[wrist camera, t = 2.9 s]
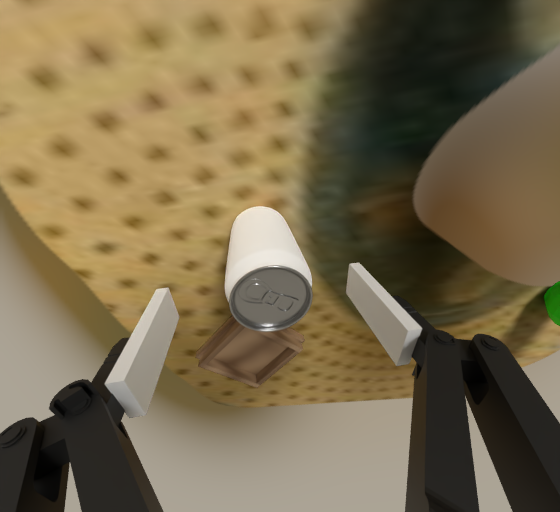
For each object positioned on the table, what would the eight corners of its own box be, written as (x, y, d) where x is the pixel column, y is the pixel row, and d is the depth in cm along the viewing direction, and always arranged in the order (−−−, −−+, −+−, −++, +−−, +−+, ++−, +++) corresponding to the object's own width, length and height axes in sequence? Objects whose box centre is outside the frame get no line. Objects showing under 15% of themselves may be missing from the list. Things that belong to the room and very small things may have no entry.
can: (248, 193, 23) (252, 242, 12) (298, 222, 25) (337, 284, 15) (221, 243, 25) (205, 320, 14) (269, 265, 27) (286, 345, 17)
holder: (196, 351, 33) (193, 367, 30) (244, 302, 29) (244, 315, 27) (256, 375, 37) (257, 390, 35) (303, 335, 34) (307, 348, 32)
